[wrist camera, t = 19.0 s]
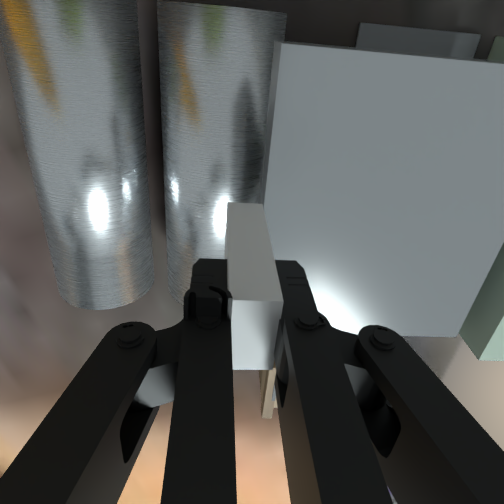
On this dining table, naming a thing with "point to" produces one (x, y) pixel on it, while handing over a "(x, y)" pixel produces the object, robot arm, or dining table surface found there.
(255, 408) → the dining table surface
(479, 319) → the block
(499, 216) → the stone slab
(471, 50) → the mat
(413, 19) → the dining table surface
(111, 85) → the roller bed
